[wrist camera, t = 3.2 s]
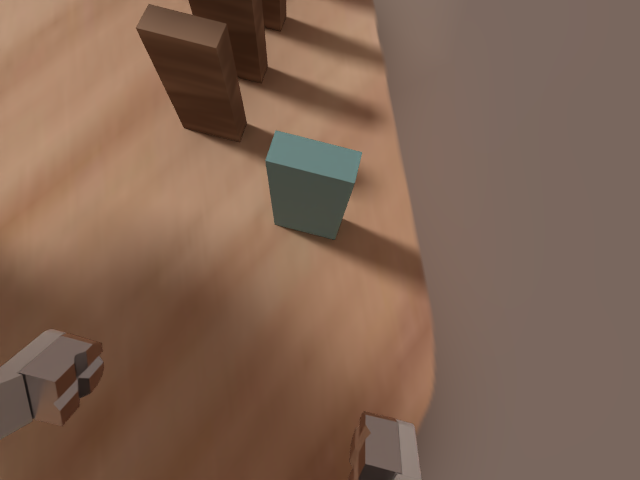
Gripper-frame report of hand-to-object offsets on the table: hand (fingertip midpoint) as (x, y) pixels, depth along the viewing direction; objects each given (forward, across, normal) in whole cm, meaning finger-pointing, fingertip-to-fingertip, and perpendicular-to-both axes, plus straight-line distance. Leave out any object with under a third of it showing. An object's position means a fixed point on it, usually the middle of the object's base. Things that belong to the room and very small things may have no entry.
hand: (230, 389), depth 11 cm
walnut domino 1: (+24, +10, -2) cm, 26 cm away
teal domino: (+19, 0, +3) cm, 19 cm away
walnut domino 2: (+28, +10, -7) cm, 31 cm away
